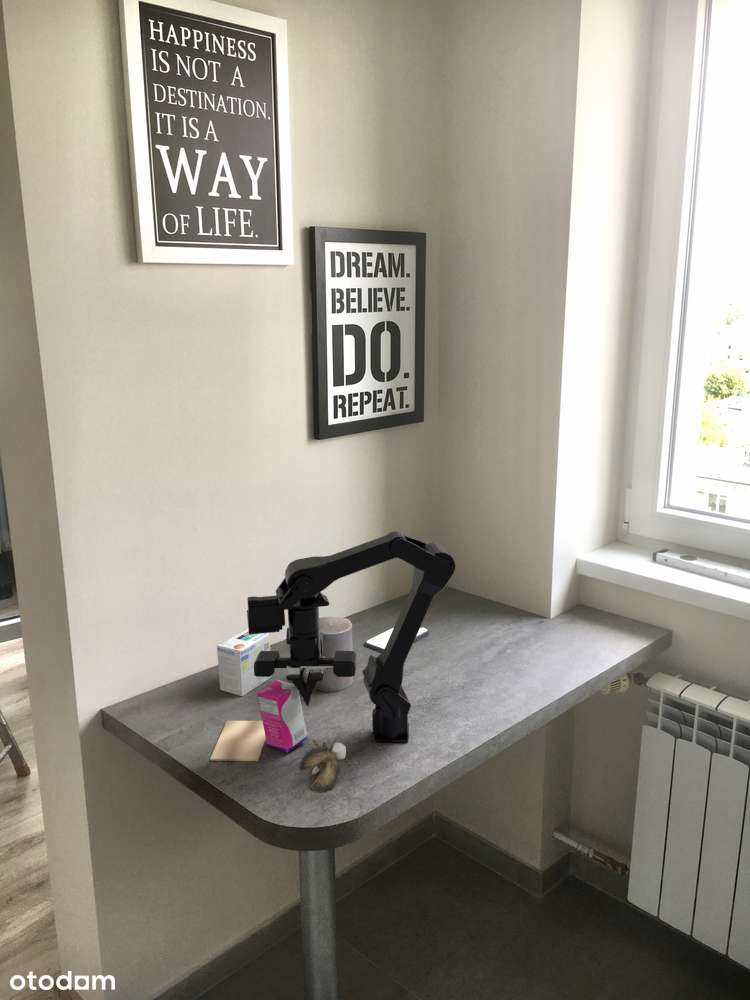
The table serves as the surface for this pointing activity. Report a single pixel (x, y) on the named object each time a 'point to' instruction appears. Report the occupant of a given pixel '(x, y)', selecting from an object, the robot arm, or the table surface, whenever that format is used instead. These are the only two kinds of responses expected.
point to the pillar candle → (334, 650)
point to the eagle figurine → (324, 765)
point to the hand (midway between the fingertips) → (307, 704)
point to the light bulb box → (241, 662)
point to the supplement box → (282, 715)
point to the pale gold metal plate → (240, 741)
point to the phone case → (382, 639)
